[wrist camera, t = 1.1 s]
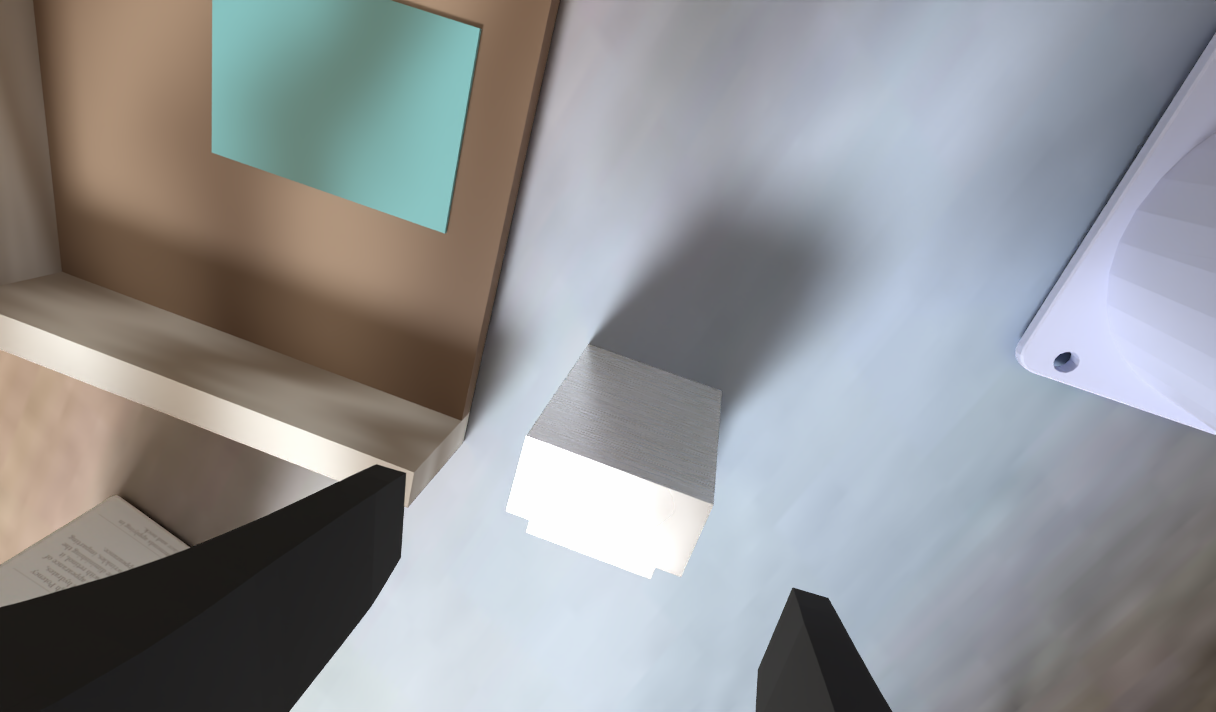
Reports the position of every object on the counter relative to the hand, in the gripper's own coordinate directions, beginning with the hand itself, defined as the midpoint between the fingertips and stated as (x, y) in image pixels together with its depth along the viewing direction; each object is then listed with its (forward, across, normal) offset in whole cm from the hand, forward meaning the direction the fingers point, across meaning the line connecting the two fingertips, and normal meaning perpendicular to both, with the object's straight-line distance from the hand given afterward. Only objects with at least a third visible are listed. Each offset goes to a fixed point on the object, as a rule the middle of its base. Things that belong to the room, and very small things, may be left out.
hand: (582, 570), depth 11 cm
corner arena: (+7, +12, -6) cm, 15 cm away
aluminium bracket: (+7, 0, +2) cm, 8 cm away
